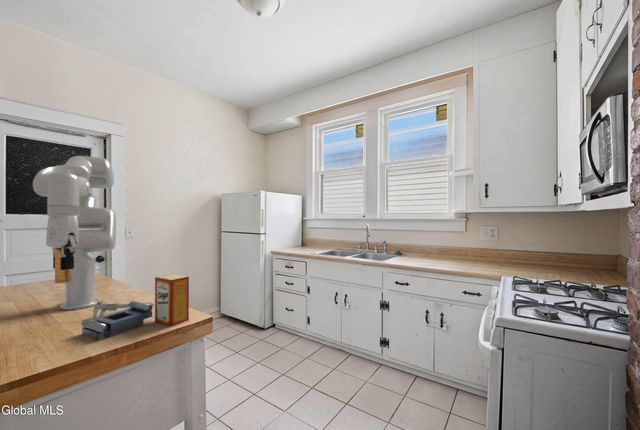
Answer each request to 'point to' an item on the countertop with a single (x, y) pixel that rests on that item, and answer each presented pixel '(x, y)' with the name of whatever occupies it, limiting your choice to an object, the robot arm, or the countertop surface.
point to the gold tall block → (60, 275)
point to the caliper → (109, 307)
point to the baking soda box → (171, 299)
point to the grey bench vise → (117, 321)
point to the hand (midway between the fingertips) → (63, 268)
